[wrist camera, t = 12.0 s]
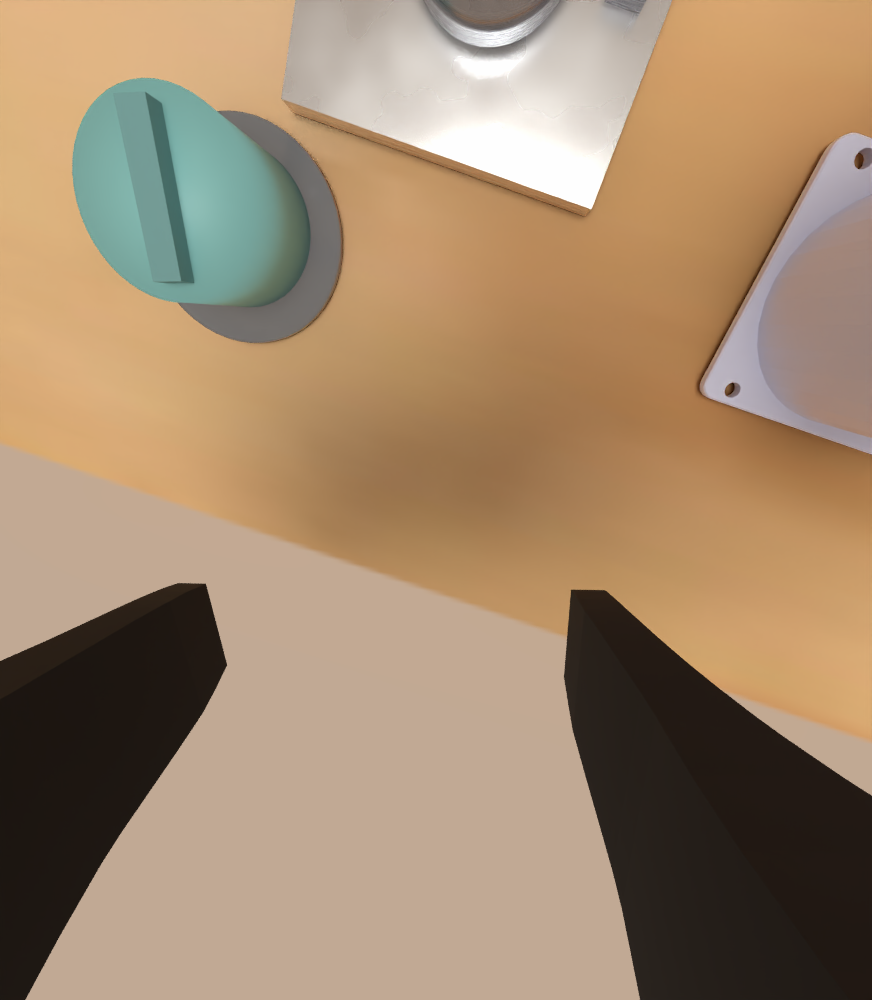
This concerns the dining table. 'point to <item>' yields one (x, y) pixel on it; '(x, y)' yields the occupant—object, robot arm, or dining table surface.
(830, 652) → the dining table surface
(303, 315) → the coaster
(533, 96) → the post plinth
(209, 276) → the cap
